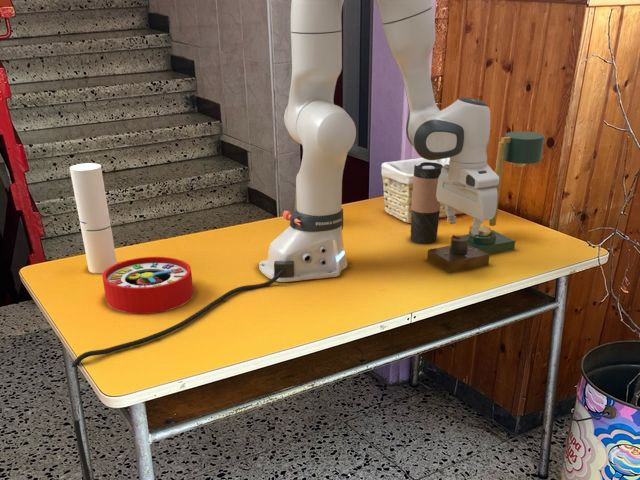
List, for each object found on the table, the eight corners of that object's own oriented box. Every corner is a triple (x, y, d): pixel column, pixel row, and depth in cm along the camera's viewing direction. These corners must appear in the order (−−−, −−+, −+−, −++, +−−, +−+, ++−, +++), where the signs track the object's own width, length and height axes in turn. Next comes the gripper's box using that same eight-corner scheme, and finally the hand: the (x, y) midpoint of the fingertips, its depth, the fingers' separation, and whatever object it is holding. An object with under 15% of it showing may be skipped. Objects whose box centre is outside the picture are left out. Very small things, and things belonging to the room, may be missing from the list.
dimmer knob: (470, 251, 186) (472, 236, 184) (460, 256, 184) (462, 241, 182) (456, 247, 189) (457, 233, 187) (446, 251, 186) (447, 237, 184)
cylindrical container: (103, 261, 191) (85, 161, 177) (123, 266, 188) (107, 165, 174) (82, 270, 186) (63, 168, 172) (103, 275, 182) (84, 172, 169)
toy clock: (91, 266, 171) (173, 251, 180) (96, 289, 175) (176, 274, 183) (116, 295, 157) (204, 277, 165) (121, 320, 160) (206, 301, 168)
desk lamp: (501, 230, 196) (512, 142, 183) (478, 220, 203) (488, 134, 191) (539, 223, 200) (553, 136, 188) (515, 213, 208) (527, 129, 196)
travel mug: (438, 244, 200) (445, 169, 189) (410, 244, 200) (415, 169, 189) (435, 235, 206) (441, 162, 195) (408, 235, 206) (412, 162, 196)
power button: (480, 238, 191) (481, 232, 190) (471, 234, 194) (472, 227, 193) (493, 236, 193) (494, 229, 192) (483, 232, 196) (484, 225, 195)
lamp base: (477, 257, 191) (479, 240, 189) (455, 246, 199) (456, 229, 196) (514, 250, 196) (516, 233, 193) (491, 239, 203) (493, 223, 201)
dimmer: (449, 273, 182) (450, 261, 180) (426, 260, 190) (427, 249, 188) (488, 265, 186) (489, 253, 185) (465, 253, 194) (466, 241, 192)
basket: (404, 226, 214) (407, 174, 206) (377, 211, 226) (379, 161, 218) (472, 214, 222) (478, 164, 214) (442, 201, 235) (446, 153, 226)
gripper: (431, 163, 182) (428, 219, 190) (481, 183, 167) (476, 242, 174) (453, 160, 184) (448, 215, 192) (504, 179, 169) (497, 238, 177)
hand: (462, 228), depth 183 cm, fingers open, 8 cm apart
